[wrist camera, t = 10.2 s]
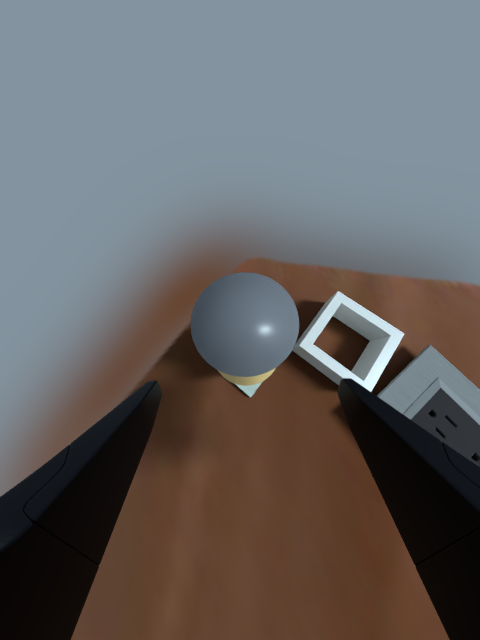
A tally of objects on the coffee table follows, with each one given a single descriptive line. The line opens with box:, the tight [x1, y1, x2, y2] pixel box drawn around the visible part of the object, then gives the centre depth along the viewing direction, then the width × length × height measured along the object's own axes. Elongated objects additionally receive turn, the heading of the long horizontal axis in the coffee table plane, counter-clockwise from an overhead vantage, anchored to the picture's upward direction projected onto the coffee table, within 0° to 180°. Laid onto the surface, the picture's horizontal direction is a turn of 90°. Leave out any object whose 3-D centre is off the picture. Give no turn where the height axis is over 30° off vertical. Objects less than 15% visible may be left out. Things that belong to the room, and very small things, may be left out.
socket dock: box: [292, 291, 404, 392], centre depth 18 cm, size 7×7×3 cm
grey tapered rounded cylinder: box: [191, 272, 299, 386], centre depth 13 cm, size 6×6×13 cm
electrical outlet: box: [377, 345, 480, 467], centre depth 17 cm, size 13×10×2 cm
